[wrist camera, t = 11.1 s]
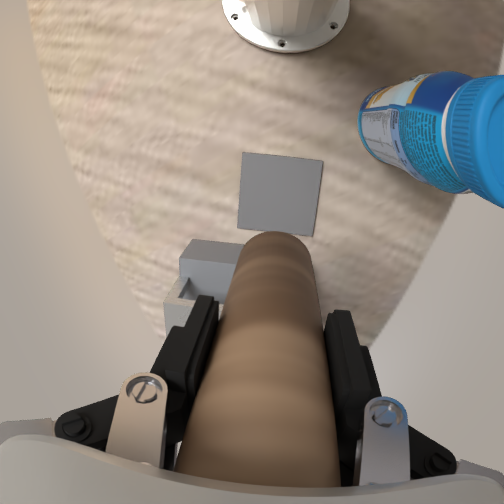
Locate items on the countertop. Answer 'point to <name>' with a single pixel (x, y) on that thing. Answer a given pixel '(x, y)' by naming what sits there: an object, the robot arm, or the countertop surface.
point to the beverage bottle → (441, 131)
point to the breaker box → (209, 268)
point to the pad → (278, 193)
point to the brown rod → (266, 378)
